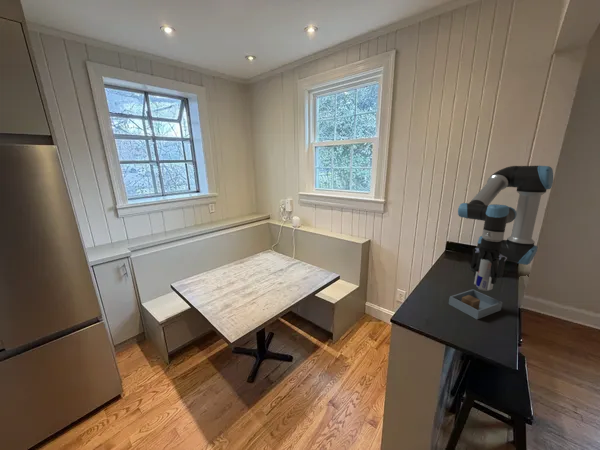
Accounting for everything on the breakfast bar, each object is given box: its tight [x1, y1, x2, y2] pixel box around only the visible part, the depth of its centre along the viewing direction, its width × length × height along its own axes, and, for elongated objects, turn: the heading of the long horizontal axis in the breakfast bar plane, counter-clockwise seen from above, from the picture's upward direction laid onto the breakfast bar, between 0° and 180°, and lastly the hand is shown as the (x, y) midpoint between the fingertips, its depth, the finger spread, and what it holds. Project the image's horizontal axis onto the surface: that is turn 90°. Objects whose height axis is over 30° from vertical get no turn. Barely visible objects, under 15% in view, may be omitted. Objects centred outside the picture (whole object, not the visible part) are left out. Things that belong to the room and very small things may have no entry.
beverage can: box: [475, 258, 492, 292], centre depth 112 cm, size 5×5×15 cm
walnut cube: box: [461, 295, 480, 310], centre depth 112 cm, size 5×5×5 cm
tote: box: [448, 288, 503, 320], centre depth 114 cm, size 17×13×4 cm
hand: (482, 286), depth 114 cm, fingers closed on beverage can, 5 cm apart
